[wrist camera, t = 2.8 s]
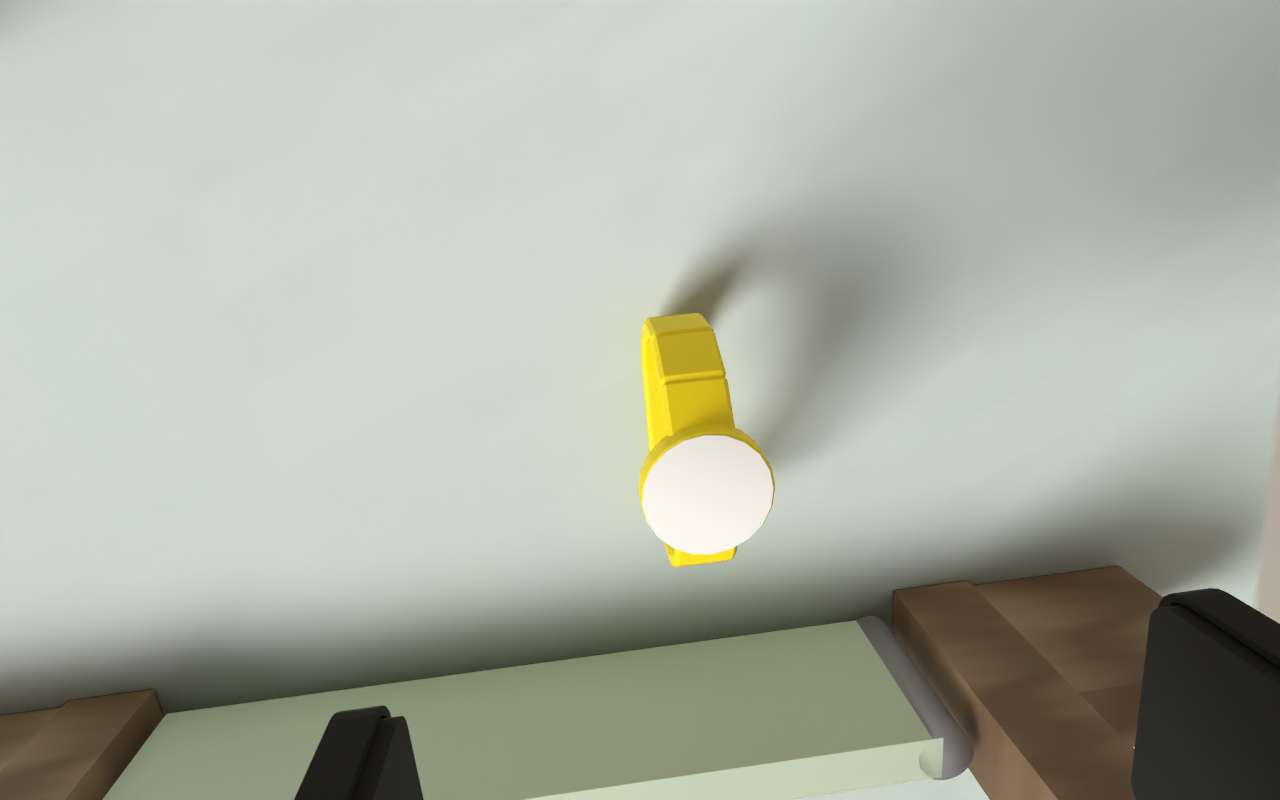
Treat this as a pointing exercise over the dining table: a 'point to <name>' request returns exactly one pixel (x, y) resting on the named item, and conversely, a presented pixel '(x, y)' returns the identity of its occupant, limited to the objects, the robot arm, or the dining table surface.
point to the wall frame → (922, 622)
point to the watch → (696, 447)
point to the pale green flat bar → (603, 727)
